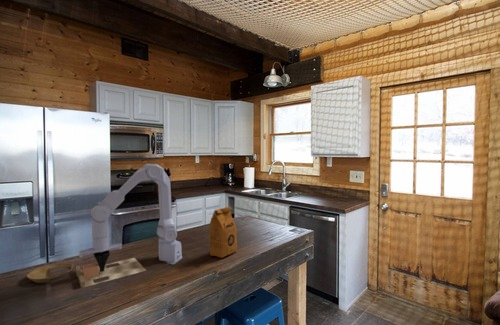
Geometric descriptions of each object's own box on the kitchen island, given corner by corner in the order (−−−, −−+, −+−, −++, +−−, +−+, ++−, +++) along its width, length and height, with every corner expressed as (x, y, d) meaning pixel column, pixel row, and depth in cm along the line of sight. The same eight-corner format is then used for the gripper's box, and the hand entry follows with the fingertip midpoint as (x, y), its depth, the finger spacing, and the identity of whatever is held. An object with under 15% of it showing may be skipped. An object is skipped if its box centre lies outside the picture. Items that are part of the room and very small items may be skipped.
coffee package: (240, 252, 130) (239, 207, 129) (221, 260, 120) (221, 211, 120) (225, 248, 136) (224, 204, 135) (206, 255, 127) (206, 208, 126)
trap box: (134, 260, 122) (134, 253, 122) (146, 273, 108) (146, 265, 108) (76, 274, 108) (75, 266, 108) (81, 291, 95) (81, 282, 95)
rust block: (96, 272, 107) (96, 262, 107) (98, 276, 103) (98, 266, 103) (81, 275, 104) (81, 265, 104) (83, 280, 100) (83, 269, 100)
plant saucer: (50, 268, 115) (49, 262, 115) (82, 269, 113) (82, 263, 113) (16, 285, 100) (16, 278, 100) (53, 286, 99) (52, 279, 99)
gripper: (118, 230, 113) (119, 262, 114) (77, 237, 104) (78, 272, 105) (122, 234, 108) (123, 268, 108) (79, 242, 99) (81, 278, 99)
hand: (101, 270), depth 106 cm, fingers closed
